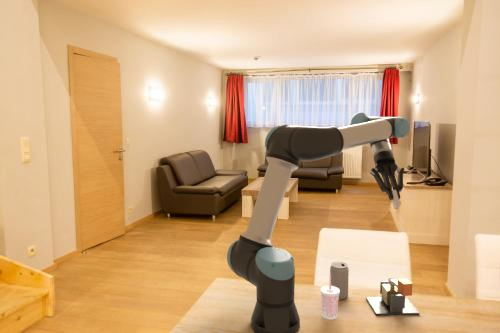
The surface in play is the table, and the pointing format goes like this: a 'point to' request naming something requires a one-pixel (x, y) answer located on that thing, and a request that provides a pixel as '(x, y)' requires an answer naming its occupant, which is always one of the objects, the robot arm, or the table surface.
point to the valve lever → (402, 286)
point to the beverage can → (340, 278)
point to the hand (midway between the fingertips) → (397, 206)
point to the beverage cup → (330, 301)
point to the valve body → (391, 302)
